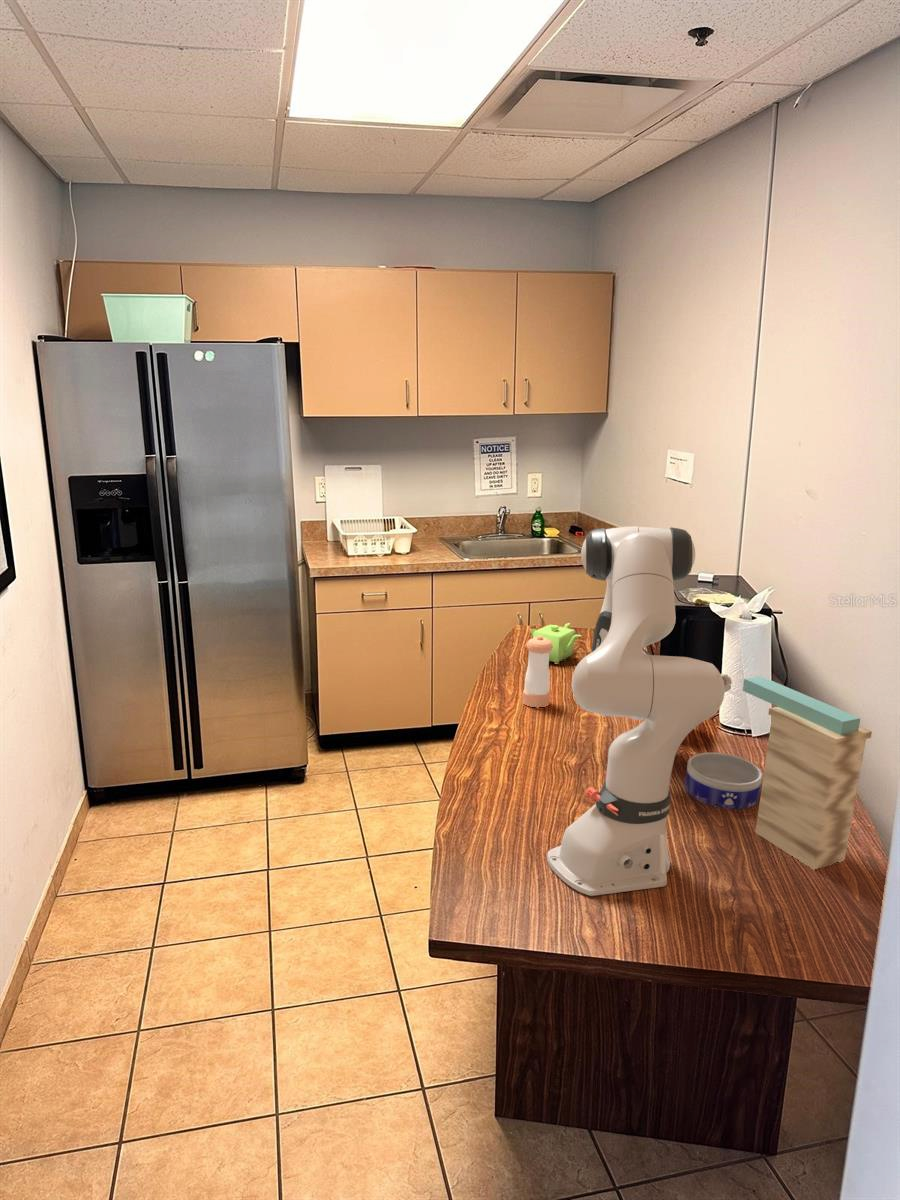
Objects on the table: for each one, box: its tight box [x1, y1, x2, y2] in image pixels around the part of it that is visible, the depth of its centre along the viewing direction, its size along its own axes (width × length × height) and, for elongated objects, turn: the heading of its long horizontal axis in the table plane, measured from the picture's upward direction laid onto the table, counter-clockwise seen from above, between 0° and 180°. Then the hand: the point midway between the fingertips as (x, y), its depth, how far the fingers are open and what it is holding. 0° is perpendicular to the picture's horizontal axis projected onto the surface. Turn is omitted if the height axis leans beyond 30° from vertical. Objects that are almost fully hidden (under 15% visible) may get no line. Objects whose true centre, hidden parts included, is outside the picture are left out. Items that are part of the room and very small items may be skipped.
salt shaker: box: [522, 636, 553, 708], centre depth 220 cm, size 7×7×19 cm
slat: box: [742, 675, 861, 735], centre depth 153 cm, size 4×23×2 cm, turn 26°
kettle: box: [529, 622, 583, 664], centre depth 258 cm, size 15×14×11 cm
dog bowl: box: [685, 751, 763, 810], centre depth 176 cm, size 15×15×6 cm
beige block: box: [754, 706, 873, 871], centre depth 153 cm, size 9×15×26 cm, turn 26°
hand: (712, 683), depth 173 cm, fingers open, 8 cm apart
